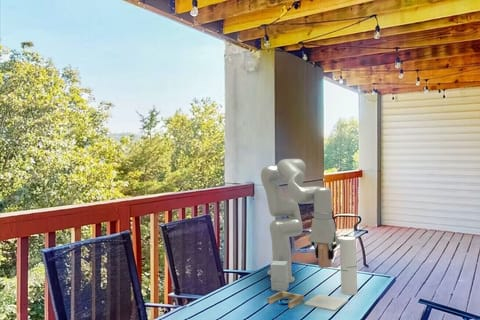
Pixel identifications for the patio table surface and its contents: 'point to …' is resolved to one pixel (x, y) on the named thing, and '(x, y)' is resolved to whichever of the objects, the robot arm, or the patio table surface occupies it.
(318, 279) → the patio table surface
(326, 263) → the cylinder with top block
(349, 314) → the patio table surface
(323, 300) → the mat
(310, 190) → the robot arm
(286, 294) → the cradle
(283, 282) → the supplement box
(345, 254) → the cylindrical container
